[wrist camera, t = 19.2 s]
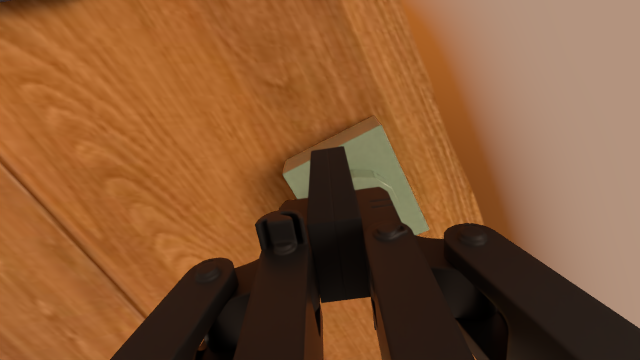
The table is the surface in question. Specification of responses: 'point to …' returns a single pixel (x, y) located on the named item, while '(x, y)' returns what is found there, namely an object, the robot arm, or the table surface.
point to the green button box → (363, 169)
